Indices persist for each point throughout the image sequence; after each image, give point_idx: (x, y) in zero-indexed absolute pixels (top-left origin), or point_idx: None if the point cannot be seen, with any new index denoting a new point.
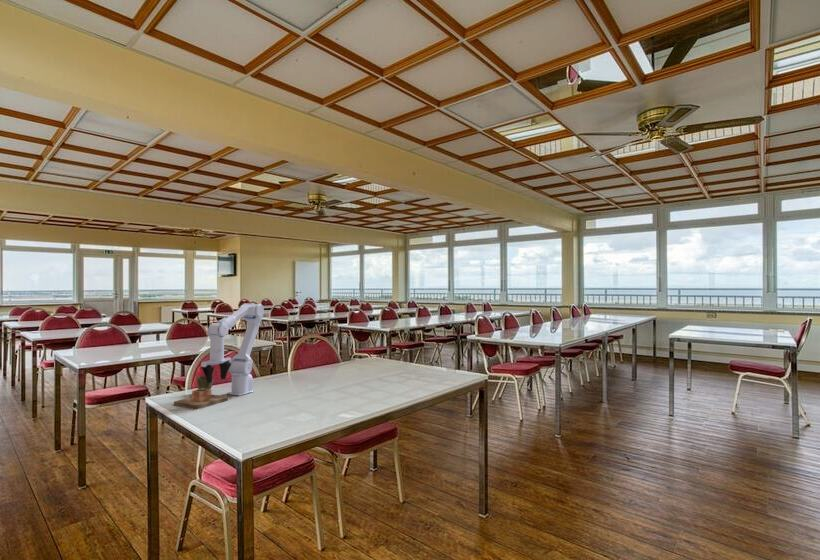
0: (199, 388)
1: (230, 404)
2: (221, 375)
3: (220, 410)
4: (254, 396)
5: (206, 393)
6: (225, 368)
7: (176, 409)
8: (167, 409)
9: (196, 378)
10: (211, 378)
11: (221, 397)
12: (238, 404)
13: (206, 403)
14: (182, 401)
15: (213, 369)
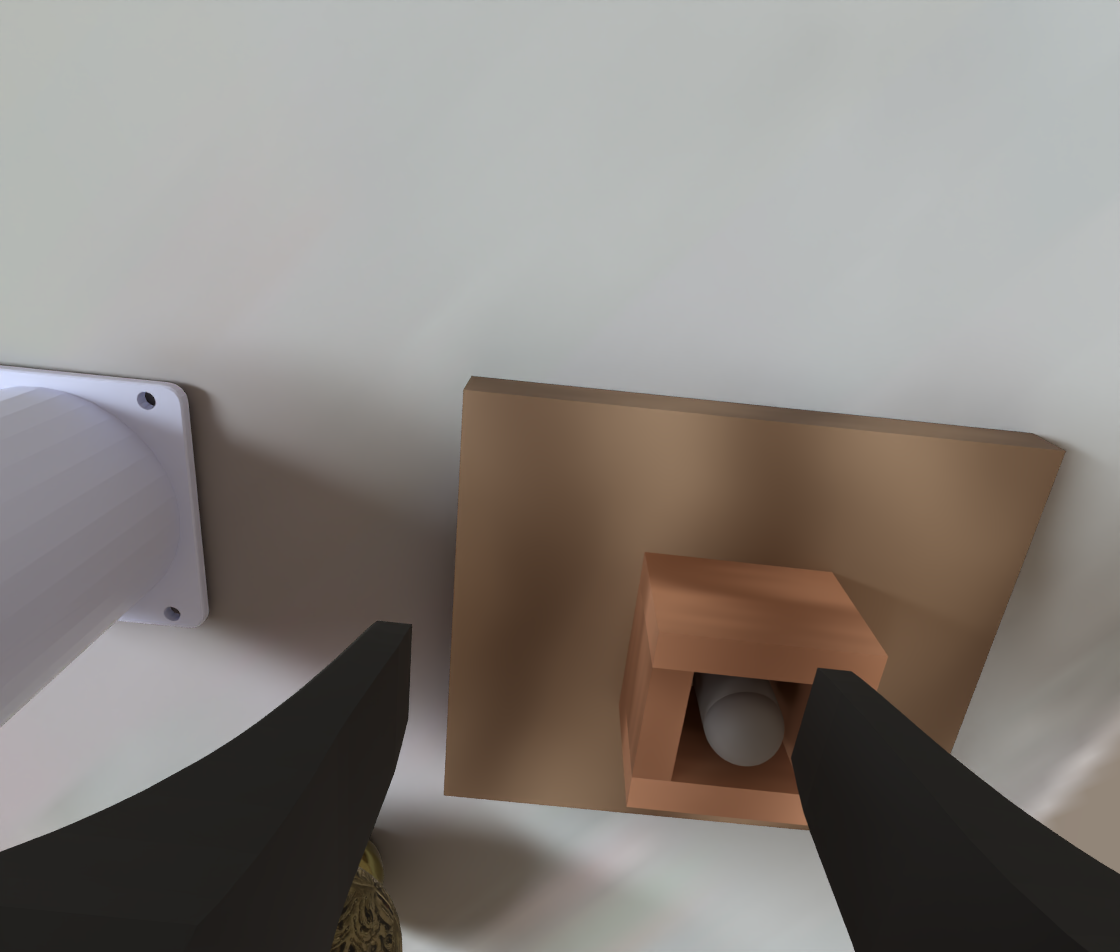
0: (401, 936)
1: (651, 154)
2: (383, 773)
3: (1033, 36)
4: (50, 126)
5: (754, 616)
6: (292, 854)
7: (1076, 658)
8: (1091, 741)
9: None
10: (882, 723)
11: (528, 459)
12: (602, 9)
13: (892, 433)
14: None
15: (1087, 944)
